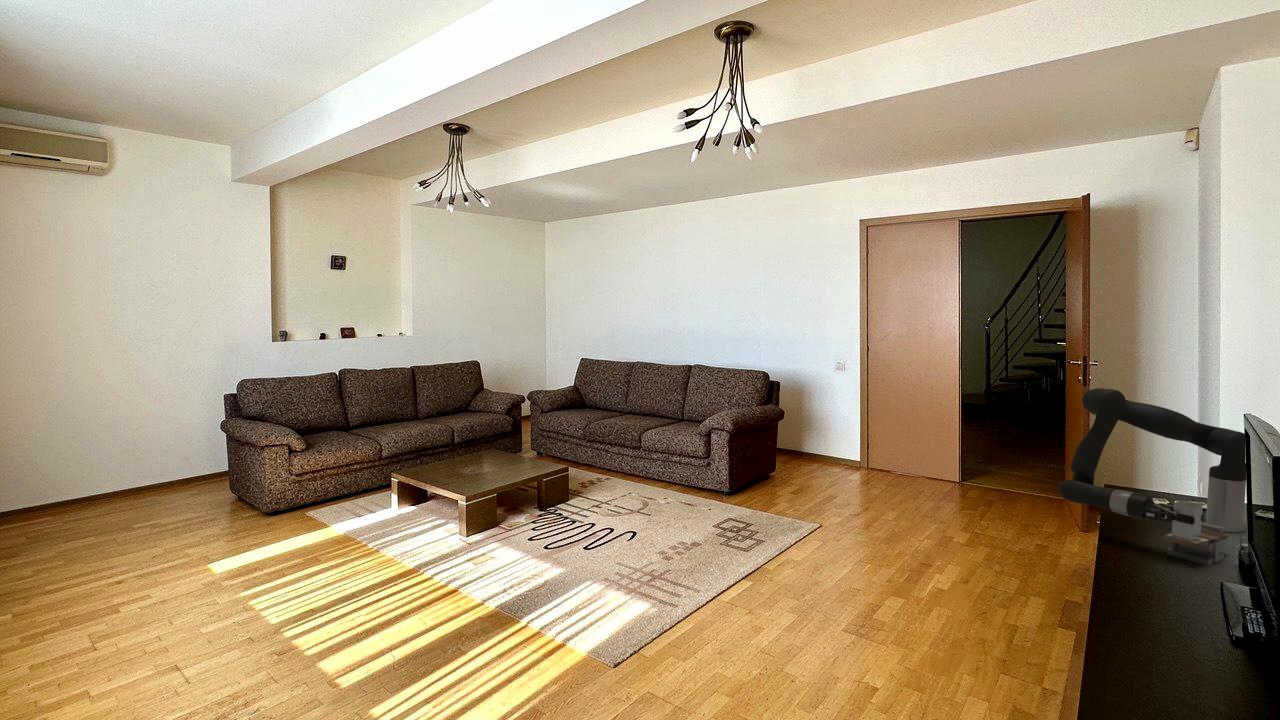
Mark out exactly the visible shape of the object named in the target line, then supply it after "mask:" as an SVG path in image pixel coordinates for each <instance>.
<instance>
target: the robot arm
mask: <svg viewBox="0 0 1280 720" xmlns="http://www.w3.org/2000/svg"><path fill="white" fill-rule="evenodd" d="M1081 402H1082V405H1083V408H1084V409H1085V410H1086V411H1088V412H1089V413H1090V414H1092V415H1095V419H1094V421H1093V424H1092V426H1091V427H1090V429H1089V431H1088V432H1087V433H1086V435H1085V436H1084V437H1083V438H1082V439H1081V441H1080V442H1079V443H1078V445H1077V446H1076V448H1075V450H1074V454H1073V456H1072V460H1071V463H1070V466H1069V467H1070V468H1069V469H1070V471H1071V472H1072V479H1066V480H1064V481H1062V482H1061V483H1060V484H1059V485H1058V488H1057V490H1058V493H1059V495H1060V496H1061V498H1062V499H1064V500H1066V501H1068V502H1072V503H1076V504H1084V505H1089V506H1093V507H1096V508H1098V509H1102V510H1106V511H1110V512H1114V513H1116V514H1118V515H1123V516H1128V517H1132V518H1135V519H1140V520H1145V521H1147V520H1150V519H1151V520H1154V521H1160V522H1166V523H1172V522H1177V521H1178V522H1182V523H1186V524H1191V525H1193V524H1195V518H1194V517H1191V516H1187V515H1182V514H1178V513H1175V512H1173V507H1174V503H1172V502H1171V503H1170V502H1166V503H1165V502H1164V503H1163V502H1159V503H1155V501H1154V498H1153V497H1152V496H1151V495H1146V494H1141V493H1137V492H1132V491H1128V490H1123V489H1122V490H1121V489H1114V488H1110V487H1105V486H1097V485H1095V473H1096V470H1097V468H1098V464H1099V461H1100V459H1101V457H1102V453H1103V450H1104V448H1105V446H1106V444H1107V442H1108V440H1109V438H1110V436H1111V435H1112V433H1113V430H1114V429H1115V427H1116V425H1117V423H1118V422H1119V421H1122V422H1124V423H1126V424H1128V425H1130V426H1133V427H1135V428H1138V429H1141V430H1143V431H1146V432H1148V433H1151V434H1154V435H1156V436H1159V437H1163V438H1166V439H1170V440H1174V441H1178V442H1179V441H1181V442H1186V443H1190V444H1191V445H1194V446H1197V447H1199V448H1202V449H1204V450H1206V451H1208V452H1210V453H1212V454H1214V455H1216V456H1220V461H1219V464H1218V465H1213V466H1211V467H1209V470H1208V485H1207V486H1208V487H1207V499H1206V500H1207V501H1206V511H1205V512H1206V513H1205V514H1203V513H1202V522H1203V521H1204V520H1205V523H1207V524H1211V525H1215V526H1220V527H1224V528H1223V532H1226V533H1241V532H1243V531H1242V530H1243V529H1244V520H1245V519H1244V518H1245V506H1246V505H1245V503H1246V491H1247V490H1246V488H1247V478H1246V463H1245V434H1246V433H1245V432H1241V431H1238V430H1233V429H1229V428H1225V427H1219V426H1212V425H1209V424H1204V423H1202V422H1198V421H1195V420H1194V419H1192V418H1190V417H1189V416H1187V415H1185V414H1184V413H1183V414H1182V413H1180V412H1178V411H1176V410H1172V409H1170V408H1166V407H1163V406H1160V405H1155V404H1149V403H1144V402H1139V401H1138V402H1137V401H1133V400H1132V401H1131V400H1128V399H1126V396H1124V394H1123V393H1122V392H1121V391H1120V390H1119V389H1118V390H1117V389H1113V388H1099V387H1097V388H1092V389H1090V390H1088V391H1086V392H1085V393H1084V394H1083V396H1082V398H1081ZM1204 518H1205V519H1204Z"/></svg>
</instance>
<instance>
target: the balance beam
mask: <svg viewBox="0 0 1280 720" xmlns="http://www.w3.org/2000/svg"><path fill="white" fill-rule="evenodd" d="M1223 528H1224V527H1220V526H1215V525H1211V524H1207V523H1206V522H1203V521H1202V523H1201V537H1200V538H1199V539H1197V540H1194V541H1189V540H1185V539H1182V538H1178V537H1174V536H1172V532H1171V533H1167V534H1164V535H1163V540H1165V541H1168V542H1176V543H1179V544H1183V545H1187V546H1191V547H1194V548H1199V547H1203V546H1206V545H1209V544H1212V545H1213V541H1215V540H1220V542H1221V541H1224V540H1227V539H1228V538H1229V534H1225V533H1224V531H1223Z"/></svg>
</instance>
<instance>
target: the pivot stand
mask: <svg viewBox="0 0 1280 720" xmlns="http://www.w3.org/2000/svg"><path fill="white" fill-rule="evenodd" d="M1171 542H1172V541H1171ZM1220 547H1221V541H1220V540H1215V541H1213V543H1212V544H1209V545H1206V546H1203V547H1199V548H1194V547H1191V546H1187V545H1183V544H1179V543H1176V542H1172V544H1171V547H1168V548H1166V555H1168V556H1172V557H1175V558H1179V559H1183V560H1185V561H1190V562H1193V563H1196V564H1200V565H1203V566H1206V567H1208V566H1211V565H1213V564H1217V563H1219V561H1222V560H1224V556H1225V553H1223V552H1220Z"/></svg>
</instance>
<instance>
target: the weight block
mask: <svg viewBox="0 0 1280 720" xmlns="http://www.w3.org/2000/svg"><path fill="white" fill-rule="evenodd" d="M1173 504H1174V507H1173V512H1175V513H1178V514H1182V515H1187V516H1191V517H1194V518H1195V524H1193V525H1191V524H1186V523H1182V522H1178V521H1177V522H1173V521H1172V522H1171V533H1172V536H1174V537H1178V538H1182V539H1185V540H1189V541H1194V540H1197V539H1199V538H1200V537H1201V523H1202V522H1203V521H1202V514H1203V507H1204V505H1203V504H1202V503H1197V502H1192V501H1188V500H1183V499H1182V500H1181V499H1180V500H1178V501H1175V502H1173Z"/></svg>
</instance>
